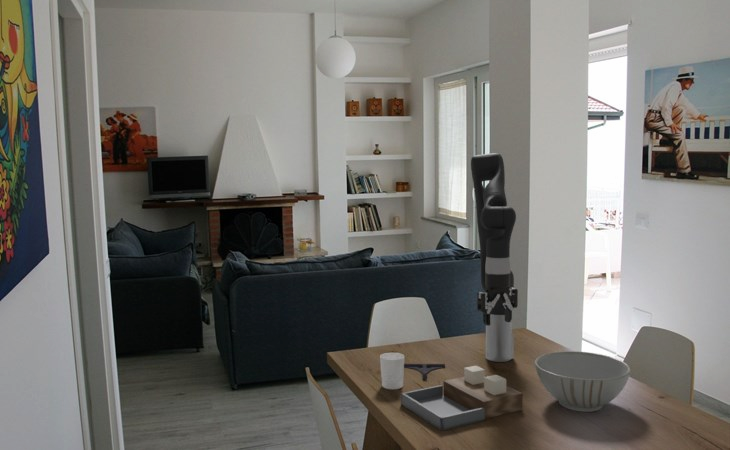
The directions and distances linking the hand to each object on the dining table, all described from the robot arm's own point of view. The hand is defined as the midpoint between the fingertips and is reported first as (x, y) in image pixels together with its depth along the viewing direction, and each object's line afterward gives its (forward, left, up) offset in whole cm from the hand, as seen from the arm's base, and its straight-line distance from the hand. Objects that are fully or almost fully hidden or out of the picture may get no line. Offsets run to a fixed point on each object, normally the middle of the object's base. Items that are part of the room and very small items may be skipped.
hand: (497, 323), depth 202 cm
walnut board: (+10, +5, -22) cm, 25 cm away
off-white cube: (+9, +10, -17) cm, 22 cm away
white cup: (+26, -21, -22) cm, 40 cm away
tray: (+24, +5, -22) cm, 33 cm away
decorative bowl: (-15, +20, -22) cm, 34 cm away
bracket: (+10, -27, -23) cm, 37 cm away
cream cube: (+9, 0, -17) cm, 19 cm away
